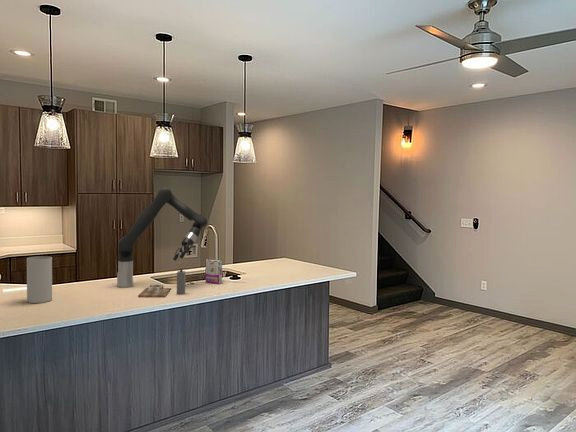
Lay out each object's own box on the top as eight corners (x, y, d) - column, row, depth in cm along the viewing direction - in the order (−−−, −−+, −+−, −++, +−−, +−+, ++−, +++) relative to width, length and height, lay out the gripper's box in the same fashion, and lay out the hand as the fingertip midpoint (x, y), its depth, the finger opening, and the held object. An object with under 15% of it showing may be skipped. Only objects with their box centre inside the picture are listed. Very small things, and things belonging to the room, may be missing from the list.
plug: (176, 294, 268) (177, 267, 267) (177, 292, 272) (178, 266, 271) (184, 294, 268) (184, 267, 267) (185, 292, 273) (185, 266, 272)
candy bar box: (222, 283, 304) (222, 260, 303) (218, 284, 300) (219, 261, 299) (208, 281, 308) (209, 259, 307) (205, 282, 303) (205, 260, 302)
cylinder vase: (49, 303, 240) (48, 259, 239) (24, 304, 237) (23, 259, 235) (54, 297, 252) (54, 256, 251) (30, 298, 249) (30, 256, 247)
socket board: (138, 297, 258) (138, 289, 258) (146, 289, 278) (146, 282, 278) (165, 297, 260) (165, 289, 259) (171, 289, 280) (171, 282, 279)
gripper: (180, 239, 294) (167, 257, 284) (191, 234, 284) (178, 253, 274) (187, 245, 297) (176, 264, 287) (199, 241, 287) (187, 260, 277)
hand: (177, 258), depth 280 cm, fingers open, 8 cm apart
